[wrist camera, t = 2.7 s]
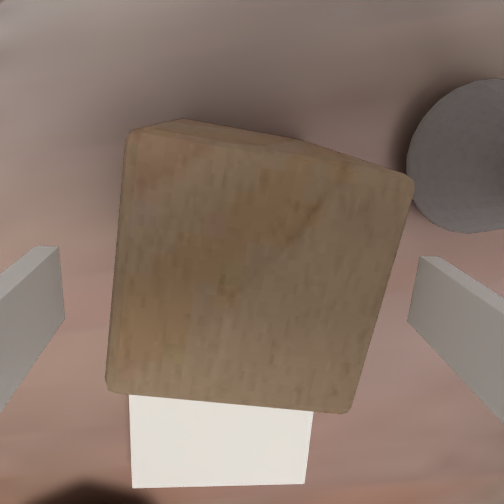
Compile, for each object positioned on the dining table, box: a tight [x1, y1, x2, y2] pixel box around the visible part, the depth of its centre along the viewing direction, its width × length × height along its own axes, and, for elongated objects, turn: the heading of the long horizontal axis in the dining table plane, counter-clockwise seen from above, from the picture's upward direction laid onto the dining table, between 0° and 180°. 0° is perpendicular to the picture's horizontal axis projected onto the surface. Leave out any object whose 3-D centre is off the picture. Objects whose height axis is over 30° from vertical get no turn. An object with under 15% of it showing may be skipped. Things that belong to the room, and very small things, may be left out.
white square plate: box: [129, 395, 313, 488], centre depth 39 cm, size 16×16×3 cm
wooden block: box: [105, 118, 414, 414], centre depth 25 cm, size 10×10×20 cm
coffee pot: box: [406, 78, 504, 234], centre depth 26 cm, size 21×12×15 cm, turn 28°
